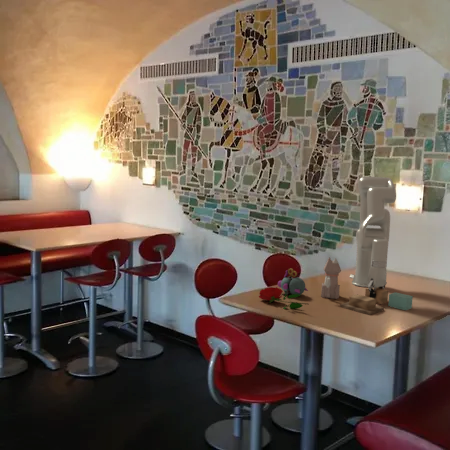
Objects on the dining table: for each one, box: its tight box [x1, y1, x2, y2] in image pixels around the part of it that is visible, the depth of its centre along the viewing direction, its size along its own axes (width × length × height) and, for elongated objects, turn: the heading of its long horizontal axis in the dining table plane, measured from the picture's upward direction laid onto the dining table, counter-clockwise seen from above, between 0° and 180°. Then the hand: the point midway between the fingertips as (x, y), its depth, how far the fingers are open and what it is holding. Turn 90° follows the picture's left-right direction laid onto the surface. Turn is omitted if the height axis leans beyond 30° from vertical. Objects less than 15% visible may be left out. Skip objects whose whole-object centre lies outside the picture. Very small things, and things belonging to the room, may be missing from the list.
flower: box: [258, 286, 309, 310], centre depth 260 cm, size 9×9×30 cm
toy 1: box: [277, 268, 309, 296], centre depth 281 cm, size 11×14×15 cm
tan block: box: [364, 287, 389, 305], centre depth 274 cm, size 9×6×6 cm, turn 44°
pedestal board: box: [340, 294, 385, 316], centre depth 261 cm, size 16×12×5 cm
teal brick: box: [387, 291, 414, 311], centre depth 265 cm, size 9×6×6 cm, turn 45°
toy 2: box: [320, 257, 342, 300], centre depth 277 cm, size 9×18×20 cm, turn 161°
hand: (376, 299), depth 275 cm, fingers closed on tan block, 6 cm apart
